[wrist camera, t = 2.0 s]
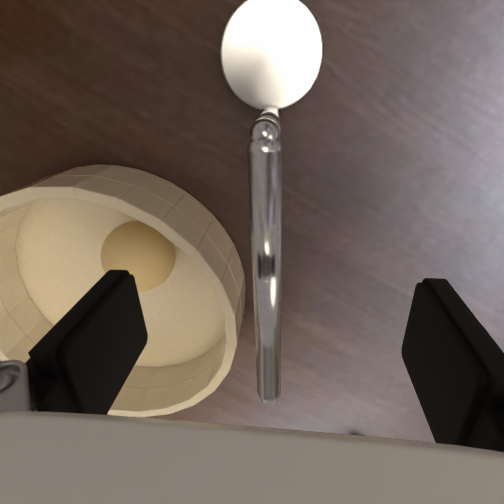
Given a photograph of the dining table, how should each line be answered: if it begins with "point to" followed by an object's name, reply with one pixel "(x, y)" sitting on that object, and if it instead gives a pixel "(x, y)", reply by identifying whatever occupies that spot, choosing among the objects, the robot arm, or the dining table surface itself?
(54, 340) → the robot arm
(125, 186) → the bowl
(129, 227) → the tan ball
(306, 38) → the ladle
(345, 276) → the dining table surface
